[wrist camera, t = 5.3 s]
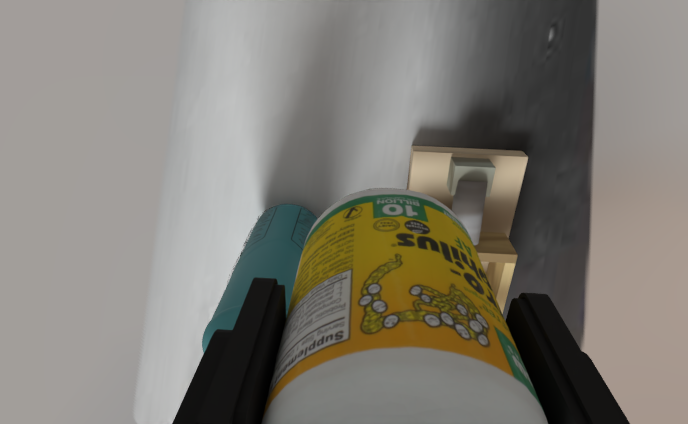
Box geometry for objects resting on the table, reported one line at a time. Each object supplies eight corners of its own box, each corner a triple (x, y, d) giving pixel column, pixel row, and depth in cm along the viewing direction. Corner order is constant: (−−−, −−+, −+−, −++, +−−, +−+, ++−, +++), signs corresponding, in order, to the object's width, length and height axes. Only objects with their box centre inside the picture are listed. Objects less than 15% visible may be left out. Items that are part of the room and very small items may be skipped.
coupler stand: (411, 145, 35) (418, 167, 30) (522, 150, 35) (545, 174, 30) (389, 344, 45) (391, 384, 40) (475, 350, 45) (487, 390, 40)
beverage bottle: (248, 200, 38) (142, 380, 20) (320, 187, 37) (274, 363, 19) (270, 260, 41) (194, 464, 23) (337, 249, 40) (311, 453, 22)
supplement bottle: (271, 258, 14) (118, 677, 5) (386, 144, 12) (431, 524, 3) (387, 344, 15) (411, 778, 7) (508, 256, 13) (746, 713, 5)
